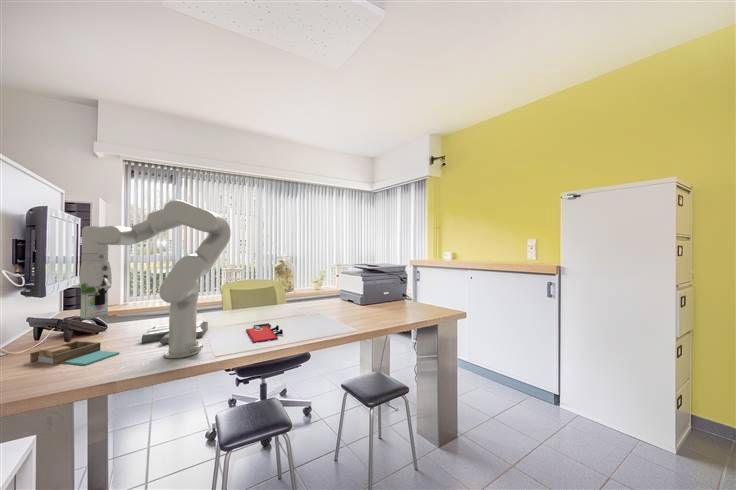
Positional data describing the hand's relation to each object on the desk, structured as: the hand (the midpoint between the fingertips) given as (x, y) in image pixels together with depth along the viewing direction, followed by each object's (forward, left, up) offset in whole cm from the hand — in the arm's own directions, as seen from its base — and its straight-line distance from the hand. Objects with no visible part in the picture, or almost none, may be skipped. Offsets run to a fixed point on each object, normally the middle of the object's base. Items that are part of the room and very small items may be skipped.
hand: (94, 304), depth 113 cm
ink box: (0, 0, -5) cm, 5 cm away
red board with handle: (-45, -46, -22) cm, 68 cm away
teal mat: (0, 0, -21) cm, 21 cm away
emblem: (-7, -32, -22) cm, 39 cm away
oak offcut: (+12, +5, -19) cm, 23 cm away
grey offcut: (+12, +4, -21) cm, 25 cm away
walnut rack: (+12, +1, -21) cm, 24 cm away
